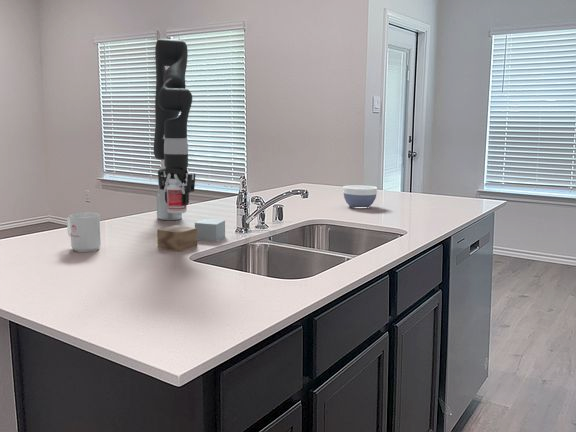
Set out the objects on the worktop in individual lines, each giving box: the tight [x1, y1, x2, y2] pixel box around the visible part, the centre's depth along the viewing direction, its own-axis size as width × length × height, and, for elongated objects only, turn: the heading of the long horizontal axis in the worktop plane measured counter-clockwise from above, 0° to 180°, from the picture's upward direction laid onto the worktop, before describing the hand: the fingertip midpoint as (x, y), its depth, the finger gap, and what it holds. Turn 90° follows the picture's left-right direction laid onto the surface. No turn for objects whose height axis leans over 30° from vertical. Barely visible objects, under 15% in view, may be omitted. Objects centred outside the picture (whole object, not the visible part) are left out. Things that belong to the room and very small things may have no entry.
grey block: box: [194, 218, 226, 243], centre depth 205 cm, size 8×8×6 cm
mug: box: [66, 212, 102, 253], centre depth 186 cm, size 12×9×11 cm
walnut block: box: [156, 224, 198, 252], centre depth 192 cm, size 9×9×6 cm
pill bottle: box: [167, 179, 188, 214], centre depth 189 cm, size 6×6×11 cm
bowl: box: [342, 184, 378, 208], centre depth 275 cm, size 16×16×10 cm
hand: (176, 204), depth 190 cm, fingers closed on pill bottle, 6 cm apart
